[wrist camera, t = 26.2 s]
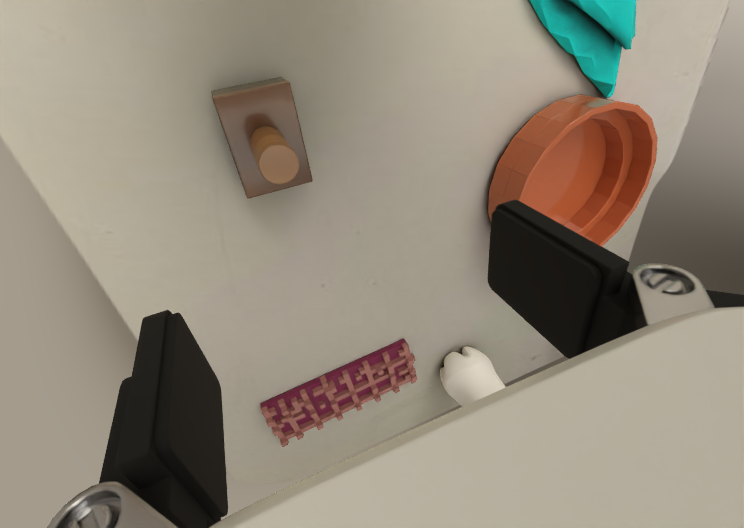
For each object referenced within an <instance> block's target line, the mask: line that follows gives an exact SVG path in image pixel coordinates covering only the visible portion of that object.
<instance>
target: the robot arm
mask: <svg viewBox="0 0 744 528" xmlns="http://www.w3.org/2000/svg"><path fill="white" fill-rule="evenodd" d="M628 265H629V262H628V261H626V260H625V259H623V258H621V257H619V256H617V255H616V254H614V253H612V252H610V251H608V250H607V249H605V248H603V247H601V246H599V245H598V244H596V243H594V242H592V241H590V240H589V239H587V238H585V237H583V236H581V235H580V234H578V233H576V232H574V231H572V230H571V229H569V228H567V227H565V226H563V225H562V224H560V223H558V222H556V221H554V220H553V219H551V218H549V217H547V216H545V215H544V214H542V213H540V212H538V211H536V210H535V209H533V208H531V207H529V206H527V205H526V204H524V203H522V202H520V201H518V200H511V201H508V202H505V203H502V204H499V205H497V206H496V208H495V211H493V213H492V216H491V232H490V249H489V265H488V283H489V286H490V287H491V289H492V290H493V291H494V292H495V293H496V294H497V295H499V296H500V297H501V298H502V299H503V300H504V301H505V302H506V303H507V304H508V305H509V306H511V307H512V308H513V309H514V310H515V311H516V312H517V313H518V314H519V315H520V316H522V317H523V318H524V319H525V320H526V321H527V322H528V323H529V324H530V325H531V326H533V327H534V328H535V329H536V330H537V331H538V332H539V333H540V334H541V335H542V336H543V337H545V338H546V339H547V340H548V341H549V342H550V343H551V344H552V345H553V346H554V347H556V348H557V349H558V350H559V351H560V352H561V353H562V354H563V355H564V356H566V357H567V358H569V360H566V361H564V362H562V363H560V364H557V365H555V366H553V367H551V368H548V369H546V370H544V371H542V372H539V373H537V374H535V375H533V376H530V377H528V378H526V379H524V380H521V381H519V382H517V383H515V384H512V385H510V386H508V387H506V388H503V389H501V390H499V391H497V392H495V393H492V394H490V395H488V396H486V397H483V398H481V399H479V400H477V401H474V402H472V403H470V404H468V405H466V406H463V407H461V408H459V409H457V410H455V411H452V412H450V413H448V414H446V415H443V416H441V417H439V418H437V419H435V420H432V421H430V422H428V423H426V424H423V425H421V426H419V427H417V428H415V429H412V430H410V431H408V432H406V433H404V434H401V435H399V436H397V437H395V438H393V439H390V440H388V441H386V442H384V443H382V444H380V445H377V446H375V447H373V448H371V449H369V450H366V451H364V452H362V453H360V454H358V455H355V456H353V457H351V458H349V459H347V460H345V461H342V462H340V463H338V464H336V465H333V466H331V467H329V468H327V469H325V470H323V471H321V472H318V473H316V474H314V475H312V476H310V477H308V478H306V479H304V480H301V481H299V482H297V483H295V484H293V485H291V486H289V487H287V488H285V489H283V490H281V491H279V492H276V493H274V494H272V495H270V496H268V497H266V498H264V499H261V500H260V501H257V502H255V503H253V504H251V505H249V506H248V507H246V508H244V509H242V510H240V511H238V512H236V513H234V514H233V515H230V516H229V517H227V518H225V519H223V520H221V517H223V516H225V515H227V512H228V501H227V484H226V466H225V449H224V431H223V414H222V397H221V388H220V384H219V381H218V379H217V377H216V375H215V373H214V372H213V370H212V368H211V366H210V365H209V363H208V361H207V359H206V358H205V356H204V354H203V352H202V351H201V349H200V347H199V345H198V344H197V342H196V340H195V338H194V337H193V335H192V333H191V331H190V330H189V328H188V326H187V324H186V323H185V321H184V319H183V317H182V316H181V314H180V313H175V314H172V313H171V312H170V311H169V310H166V311H163V312H160V313H156V314H153V315H150V316H147V317H145V318H143V321H142V326H141V331H140V336H139V341H138V346H137V352H136V357H135V362H134V367H133V372H132V377H129V378H126V379H125V380H123V381H122V384H121V386H120V390H119V395H118V399H117V404H116V408H115V413H114V417H113V422H112V426H111V431H110V436H109V440H108V445H107V450H106V454H105V459H104V463H103V468H102V472H101V477H100V481H99V484H97V485H94V486H91V487H90V488H88V489H86V490H85V491H83V492H81V493H79V494H78V495H77V496H75V497H74V498H73V499H72V500H70V501H69V502H68V503H67V504H66V505H65V506H64V507H63V508H62V509H61V510H60V511H59V512H58V513H57V515H56V516H55V517H54V518H53V519H52V521H51V523H50V524H49V526H48V527H47V528H744V295H739V294H732V293H724V292H717V291H709V290H705V288H704V286H703V285H702V283H701V282H700V281H699V279H698V278H697V277H695V276H694V275H692V274H691V273H690V272H687V271H685V270H683V269H681V268H678V267H675V266H671V265H665V264H646V265H641V266H640V267H638V268H636V269H635V270H634V272H633V274H631V273H629V272H627V267H628Z"/></svg>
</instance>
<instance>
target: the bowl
mask: <svg viewBox="0 0 744 528" xmlns="http://www.w3.org/2000/svg"><path fill="white" fill-rule="evenodd" d="M656 151H657V135H656V132H655V128H654V125H653V121H652V119H651V117H650V116H649V115H648V114H647V113H646V112H645V111H644V110H643V109H642V108H640V107H639V106H638V105H634V104H629V103H624V102H619V101H613V100H608V99H602V98H597V97H592V96H586V95H581V94H580V95H576V96H572V97H568V98H564V99H560V100H557V101H555V102H554V103H552V104H551V105H549V106H548V107H546V108H545V109H543V110H541V111H540V112H538V113H537V114H535V115H534V116H533V117H532V118H531V119H530V120H529V121H528V122H527V123H526V124H525V125H524V126H523V128H522V129H521V130H520V131H519V132H518V133H517V134H516V135H515V136H514V138H513V139H512V140H511V142H510V144H509V145H508V147H507V149H506V150H505V152H504V154H503V155H502V157H501V159H500V160H499V162H498V164H497V167H496V170H495V173H494V176H493V180H492V183H491V186H490V190H489V205H488V214H489V218H490V221H491V216H492V213H493V211H495V208H496V206H497V205H499V204H502V203H505V202H508V201H511V200H518V201H520V202H522V203H524V204H526V205H527V206H529V207H531V208H533V209H535V210H536V211H538V212H540V213H542V214H544V215H545V216H547V217H549V218H551V219H553V220H554V221H556V222H558V223H560V224H562V225H563V226H565V227H567V228H569V229H571V230H572V231H574V232H576V233H578V234H580V235H581V236H583V237H585V238H587V239H589V240H590V241H592V242H594V243H596V244H598V245H599V246H601V247H602V246H603V245H604V244H605V243H606V242H607V241H608V240H609V239H610V238H611V237H612V236H613V235H615V234H616V233H617V232H618V231H619V229H620V228H621V227H622V226H623V225H624V223H625V222H626V221H627V219H628V218H629V217H630V215H631V214H632V213H633V211H634V210H635V208H636V207H637V205H638V203H639V201H640V199H641V198H642V196H643V194H644V192H645V190H646V188H647V186H648V184H649V181H650V178H651V174H652V171H653V168H654V165H655V162H656Z"/></svg>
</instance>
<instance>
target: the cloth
mask: <svg viewBox="0 0 744 528" xmlns="http://www.w3.org/2000/svg"><path fill="white" fill-rule="evenodd" d="M530 2H531V4H532V6H533V8H534V9H535V11H536V13H537V15H538V17H539V18H540V20H541V22H542V23H543V25H544V26H545V27H546V28H547V29H548V31H549V32H550V33H551V34H552V35H553V37H554V38H555V39H556V40H557V41H558V42H559V44H560V45H561V46H562V47H563V48H564V49H565V51H566V52H568V53H570V54H572V55H574V56H575V57H576V59H577V61H578V63H579V65H580V67H581V69H582V71H583V73H584V74H585V75H586V76H587V77H588V78H589V79H590V80H591V81H592V82H593V83H594V84H595V85H596V87H597V88H598V89H599V90H600V91H601V92H602V94H603V95H604V96H605V97H606V98H608V97H611V96H612V95H613V93H614V88H615V83H616V79H617V73H618V66H619V60H620V54H621V46H622V47H623V48H624V49H631V41H632V38H633V37H634V36H635V18H636V0H530Z"/></svg>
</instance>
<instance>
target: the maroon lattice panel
mask: <svg viewBox="0 0 744 528" xmlns="http://www.w3.org/2000/svg"><path fill="white" fill-rule="evenodd" d="M413 361H415V357H414V356H413V354H410V351H409V346H408V344H407V343H406V341H405V340H404V339H402V340H400V341H398V342H395V343H393V344H391V345H389V346H387V347H384V348H382V349H380V350H378V351H376V352H373V353H371V354H369V355H367V356H365V357H362V358H360V359H358V360H356V361H354V362H351V363H349V364H347V365H345V366H342V367H340V368H338V369H336V370H334V371H331V372H329V373H327V374H325V375H323V376H320V377H318V378H316V379H314V380H312V381H309V382H307V383H305V384H303V385H301V386H298V387H296V388H294V389H292V390H289V391H287V392H285V393H283V394H281V395H278V396H276V397H274V398H272V399H270V400H267V401H265V402H263V403H261V410H262V414H263V415H264V417H265V418H266V421H267V425H268V426H269V427H270V426H271V427H272V429H273V433H274V435H275V436H276V435H277V436H278V437H279V439H280V442H281V445H282V447H284V446H286V445H288V443H289V441H288V439H290V438H292V437H294V436H296V437H297V438H298V440H299V439H301V438H303V436H304V434H303V432H305V431H307V430H309V429H311V428H313V427H315V426H317V428H318V430H320V429H322V428H323V423H324V422H326V421H328V420H330V419H332V418H334V417H337V419H338V420H340V419H342V418H343V416H342V413H345V412H347V411H349V410H351V409H353V408H355V407H356V409H357V411H359V410H361V409H362V407H361V404H363V403H365V402H368V401H370V400H372V399H375V401H376V402H378V401H380V400H381V398H380V395H382V394H384V393H386V392H389V391H391V390H393V391H394V392H395V393H397V392H399V391H400V390H399V386H401V385H403V384H405V383H407V382H410V381H411V383H414V382H416V380H417V376H416V374H415V373H416V371H415V369H414V367H413V363H414V362H413Z"/></svg>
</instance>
